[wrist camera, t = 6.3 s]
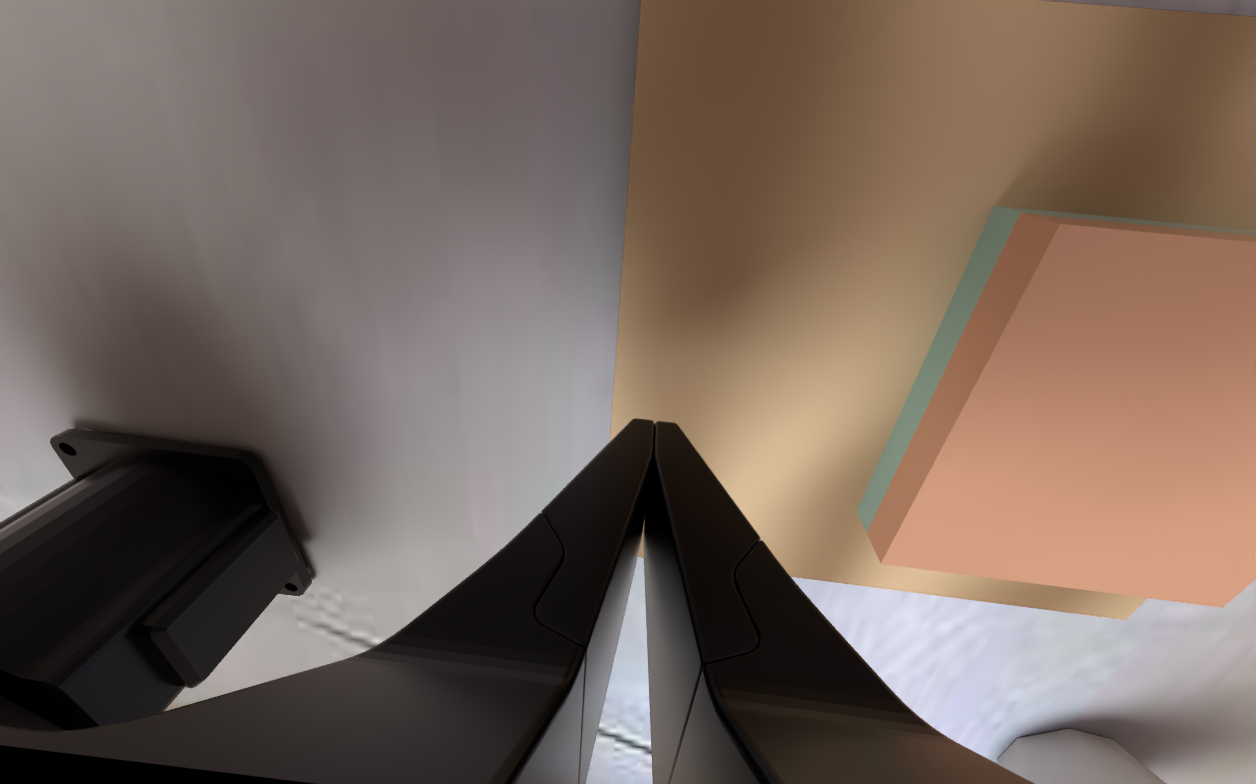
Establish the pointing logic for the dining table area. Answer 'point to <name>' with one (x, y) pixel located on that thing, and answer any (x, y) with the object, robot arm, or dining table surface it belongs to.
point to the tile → (1084, 414)
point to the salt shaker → (1074, 760)
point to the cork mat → (883, 220)
